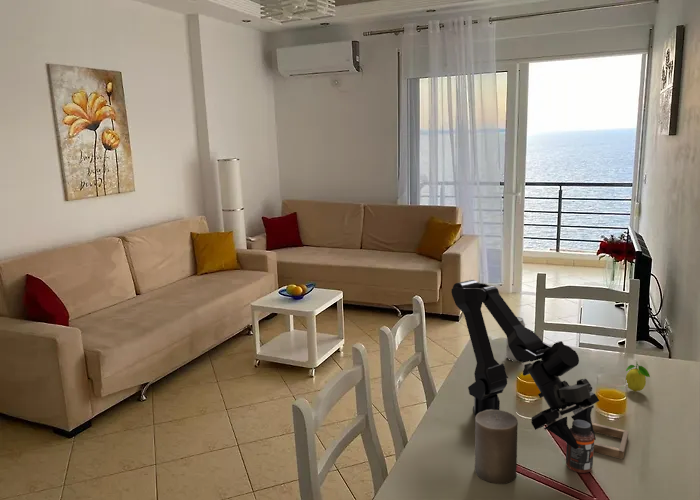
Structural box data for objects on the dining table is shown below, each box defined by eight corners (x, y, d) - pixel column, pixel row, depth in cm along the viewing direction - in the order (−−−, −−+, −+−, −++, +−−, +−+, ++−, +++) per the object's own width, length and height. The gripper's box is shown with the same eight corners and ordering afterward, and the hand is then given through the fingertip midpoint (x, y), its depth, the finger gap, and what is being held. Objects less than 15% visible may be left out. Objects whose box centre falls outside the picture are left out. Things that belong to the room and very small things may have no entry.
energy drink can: (520, 363, 189) (522, 322, 186) (504, 360, 193) (505, 320, 190) (525, 357, 194) (527, 317, 191) (509, 354, 197) (510, 315, 194)
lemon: (648, 398, 162) (650, 366, 160) (626, 395, 164) (628, 364, 162) (644, 388, 168) (646, 358, 166) (623, 386, 170) (625, 356, 168)
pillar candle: (524, 479, 125) (526, 419, 122) (487, 488, 122) (488, 427, 120) (501, 457, 134) (503, 401, 131) (466, 464, 132) (467, 407, 129)
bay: (581, 448, 137) (581, 441, 136) (588, 428, 146) (589, 422, 145) (623, 459, 132) (623, 451, 131) (627, 438, 141) (628, 431, 140)
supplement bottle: (595, 475, 126) (598, 431, 124) (568, 473, 127) (570, 429, 125) (589, 460, 132) (592, 418, 129) (563, 458, 133) (565, 416, 130)
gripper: (543, 379, 123) (582, 445, 116) (594, 361, 133) (634, 421, 125) (515, 398, 132) (550, 461, 124) (565, 379, 141) (601, 436, 134)
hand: (585, 444), depth 127 cm, fingers closed on supplement bottle, 6 cm apart
